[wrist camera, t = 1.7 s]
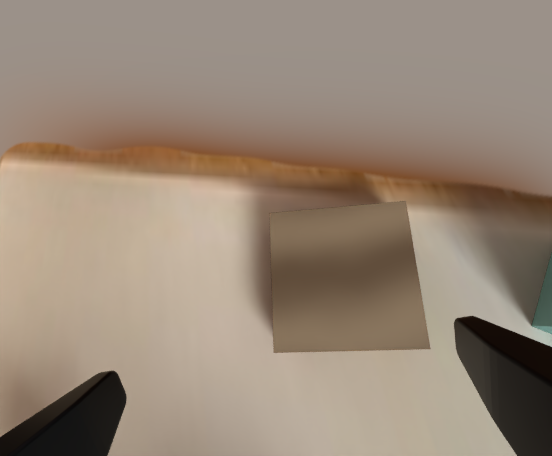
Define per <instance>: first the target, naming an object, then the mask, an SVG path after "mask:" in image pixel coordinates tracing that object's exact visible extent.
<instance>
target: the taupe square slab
mask: <svg viewBox="0 0 552 456" xmlns="http://www.w3.org/2000/svg"><path fill="white" fill-rule="evenodd" d="M269 215H270V248H271V280H272V313H273V345H274V353H283V352H326V351H369V350H411V349H430V344H429V338H428V332H427V326H426V320H425V314H424V308H423V302H422V296H421V290H420V284H419V278H418V272H417V266H416V260H415V254H414V248H413V242H412V235H411V229H410V223H409V217H408V211H407V205H406V201H400V202H389V203H377V204H366V205H355V206H344V207H332V208H321V209H310V210H299V211H287V212H276V213H269Z"/></svg>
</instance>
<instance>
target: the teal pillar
mask: <svg viewBox="0 0 552 456" xmlns="http://www.w3.org/2000/svg"><path fill="white" fill-rule="evenodd" d="M532 326H533V327H535V328H538V329H540V330H543V331H545V332H548V333H550V334H552V253H551V257H550V261H549V264H548V268H547V272H546V275H545V279H544V283H543V286H542V290H541V294H540V297H539V301H538V305H537V308H536V312H535V316H534V319H533V323H532Z"/></svg>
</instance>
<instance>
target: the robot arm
mask: <svg viewBox="0 0 552 456" xmlns="http://www.w3.org/2000/svg"><path fill="white" fill-rule="evenodd" d="M454 329H455V342H456V350H457V353H458V356H459V358H460V360H461V362H462V364H463V365H464V367H465V369H466V371H467V373H468V375H469V377H470V378H471V380H472V382H473V384H474V386H475V388H476V390H477V391H478V393H479V395H480V397H481V399H482V401H483V402H484V404H485V406H486V408H487V410H488V412H489V413H490V415H491V417H492V419H493V420H494V422H495V423H496V425H497V426H498V428H499V429H500V431H501V432H502V434H503V435H504V437H505V438H506V440H507V441H508V443H509V444H510V446H511V447H512V449H513V450H514V452H515V453H516V455H517V456H552V347H550V346H548V345H545V344H543V343H540V342H538V341H535V340H533V339H530V338H528V337H525V336H523V335H520V334H518V333H515V332H513V331H510V330H507V329H505V328H502V327H500V326H497V325H495V324H492V323H490V322H487V321H485V320H482V319H480V318H477V317H474V316H467V317H461V318H457V319H456V320H455V322H454ZM125 405H126V393H125V390H124V388H123V385H122V383H121V381H120V378H119V376H118V374H117V373H116V372H115V371H107V372H101V373H98V374H96V375H95V376H93V377H92V378H90V379H89V380H87V381H86V382H84V383H83V384H81V385H80V386H78V387H76V388H75V389H73V390H72V391H70V392H69V393H67V394H66V395H64V396H63V397H61V398H60V399H58V400H56V401H55V402H53V403H52V404H50V405H49V406H47V407H46V408H44V409H43V410H41V411H40V412H38V413H36V414H35V415H33V416H32V417H30V418H29V419H27V420H26V421H24V422H23V423H21V424H20V425H18V426H16V427H15V428H13V429H12V430H10V431H9V432H7V433H6V434H4V435H3V436H1V437H0V456H107V455H108V453H109V450H110V447H111V444H112V441H113V439H114V436H115V433H116V430H117V427H118V424H119V422H120V419H121V416H122V413H123V410H124V408H125Z"/></svg>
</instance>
